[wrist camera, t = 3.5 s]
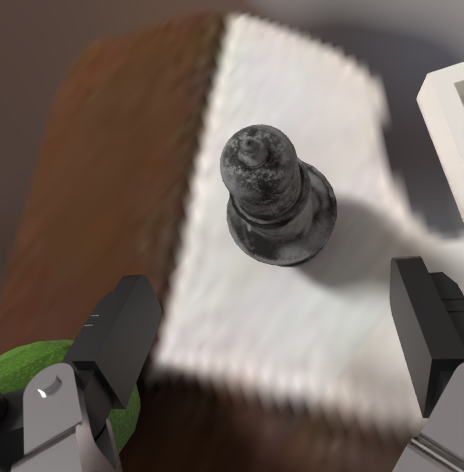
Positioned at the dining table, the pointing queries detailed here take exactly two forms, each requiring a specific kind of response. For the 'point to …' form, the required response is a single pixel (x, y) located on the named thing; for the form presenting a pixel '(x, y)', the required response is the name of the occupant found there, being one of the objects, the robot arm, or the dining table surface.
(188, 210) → the dining table surface
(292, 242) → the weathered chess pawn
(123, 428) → the avocado
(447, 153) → the ceramic dish
